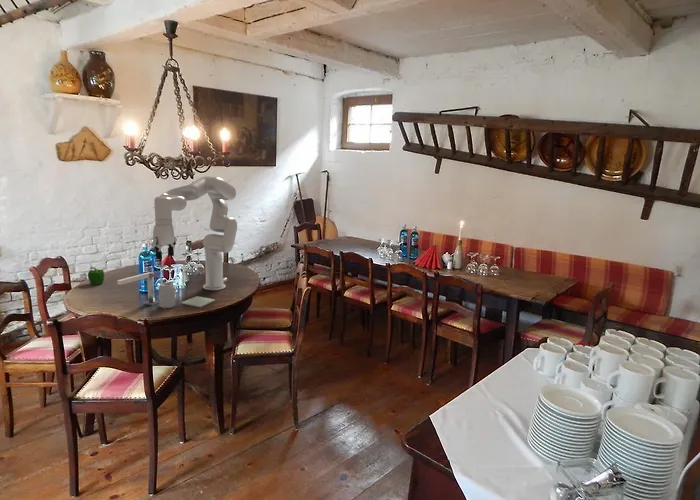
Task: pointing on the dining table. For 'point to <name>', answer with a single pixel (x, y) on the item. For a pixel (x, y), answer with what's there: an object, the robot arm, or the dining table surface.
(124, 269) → the dining table surface
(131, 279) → the light grey bar
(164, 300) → the can
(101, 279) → the bell pepper
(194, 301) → the pad
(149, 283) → the post
